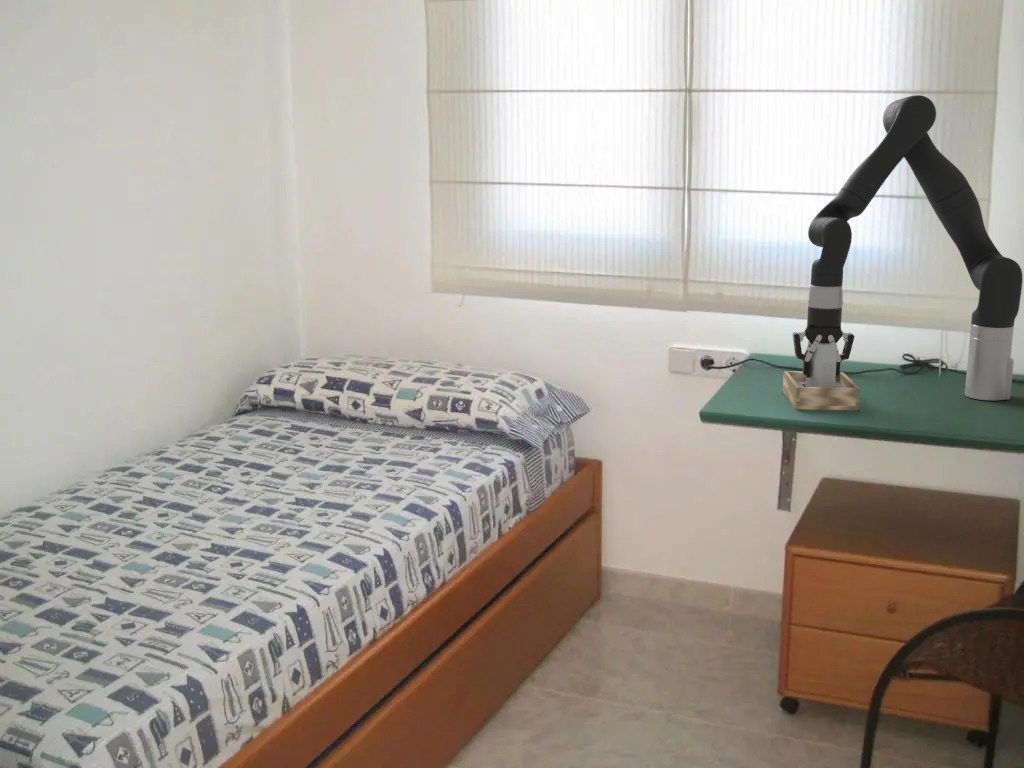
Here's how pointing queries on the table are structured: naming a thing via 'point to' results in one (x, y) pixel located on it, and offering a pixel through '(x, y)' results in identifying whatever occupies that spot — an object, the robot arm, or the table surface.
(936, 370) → the table surface
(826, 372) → the skincare box
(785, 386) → the crate
